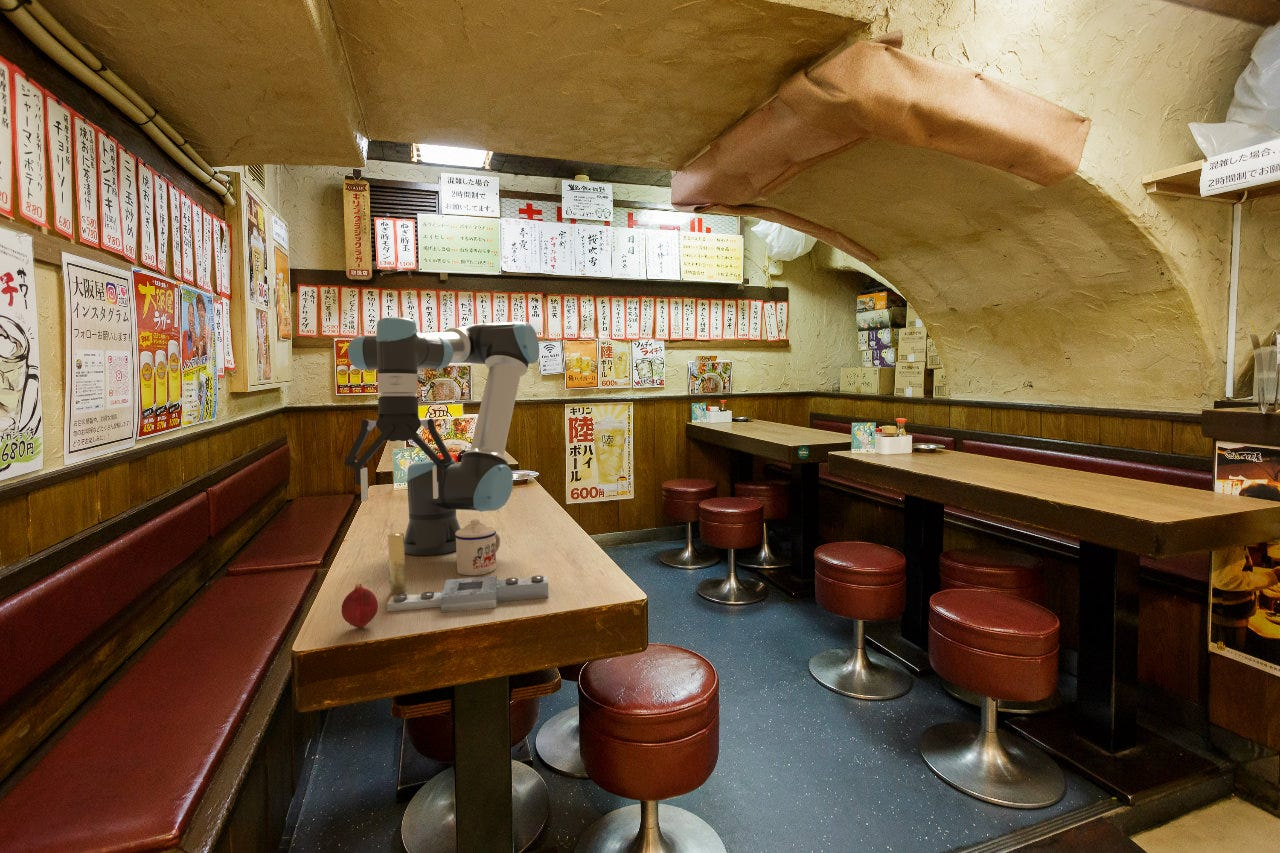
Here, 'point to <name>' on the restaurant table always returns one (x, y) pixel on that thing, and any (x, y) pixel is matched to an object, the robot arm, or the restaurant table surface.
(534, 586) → the studded slotted bracket
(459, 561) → the teacup with lid
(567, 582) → the restaurant table surface
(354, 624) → the onion
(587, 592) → the restaurant table surface
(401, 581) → the brass pin
